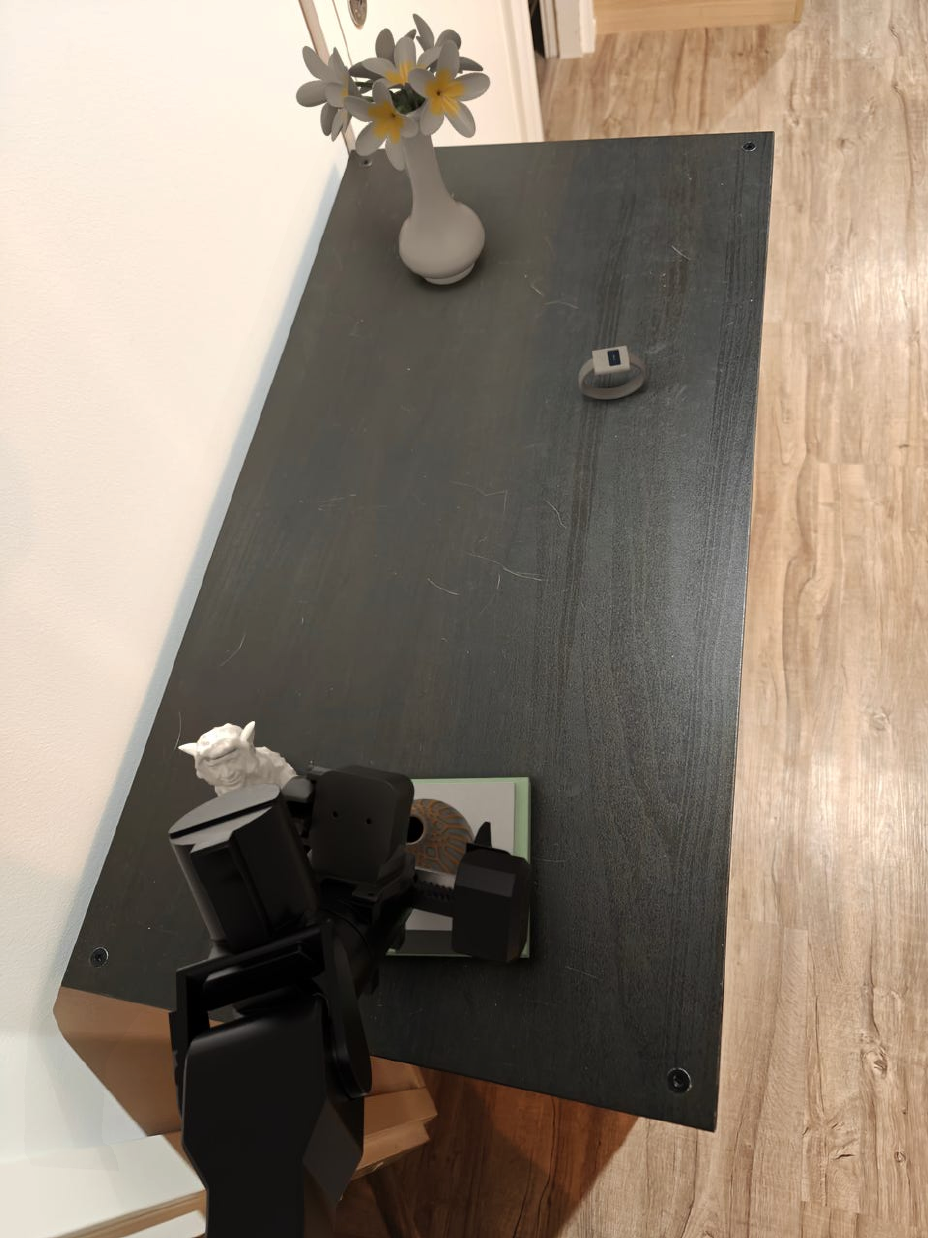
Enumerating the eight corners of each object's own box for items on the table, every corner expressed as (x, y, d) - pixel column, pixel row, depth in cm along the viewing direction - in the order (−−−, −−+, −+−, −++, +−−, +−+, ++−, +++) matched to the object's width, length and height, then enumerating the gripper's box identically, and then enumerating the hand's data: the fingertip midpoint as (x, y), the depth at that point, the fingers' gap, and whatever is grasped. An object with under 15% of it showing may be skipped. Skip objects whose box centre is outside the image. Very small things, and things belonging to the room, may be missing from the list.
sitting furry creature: (229, 878, 75) (159, 838, 65) (203, 784, 79) (134, 732, 69) (338, 828, 75) (286, 780, 65) (306, 736, 80) (253, 678, 69)
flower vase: (380, 223, 108) (309, -2, 87) (536, 228, 103) (502, -10, 82) (345, 306, 103) (260, 89, 81) (507, 316, 98) (463, 86, 76)
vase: (379, 893, 70) (345, 865, 63) (410, 805, 73) (380, 768, 65) (466, 920, 68) (441, 894, 61) (494, 829, 71) (474, 793, 63)
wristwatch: (582, 410, 90) (578, 374, 86) (579, 388, 92) (575, 352, 87) (647, 400, 90) (646, 363, 85) (643, 378, 91) (642, 341, 87)
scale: (529, 959, 68) (525, 955, 66) (355, 956, 70) (347, 952, 69) (531, 783, 74) (528, 775, 72) (371, 786, 76) (364, 778, 75)
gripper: (499, 859, 45) (566, 730, 60) (164, 787, 51) (299, 684, 65) (487, 1045, 49) (553, 882, 63) (175, 960, 54) (300, 827, 68)
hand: (423, 814), depth 65 cm, fingers open, 9 cm apart
